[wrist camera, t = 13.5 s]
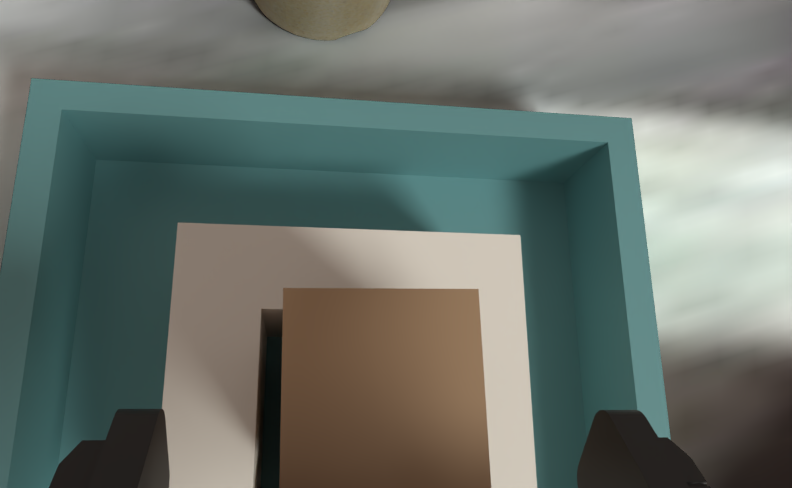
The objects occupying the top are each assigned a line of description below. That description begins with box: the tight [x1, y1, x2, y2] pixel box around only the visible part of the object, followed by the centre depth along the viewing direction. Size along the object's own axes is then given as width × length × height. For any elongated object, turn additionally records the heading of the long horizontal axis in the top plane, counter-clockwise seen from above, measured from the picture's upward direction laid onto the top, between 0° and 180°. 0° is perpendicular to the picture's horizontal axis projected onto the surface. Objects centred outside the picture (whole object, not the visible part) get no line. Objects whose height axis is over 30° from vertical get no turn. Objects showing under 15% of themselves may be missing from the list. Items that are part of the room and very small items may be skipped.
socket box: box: [0, 78, 671, 488], centre depth 21 cm, size 20×20×6 cm
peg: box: [279, 288, 491, 488], centre depth 17 cm, size 4×4×12 cm
